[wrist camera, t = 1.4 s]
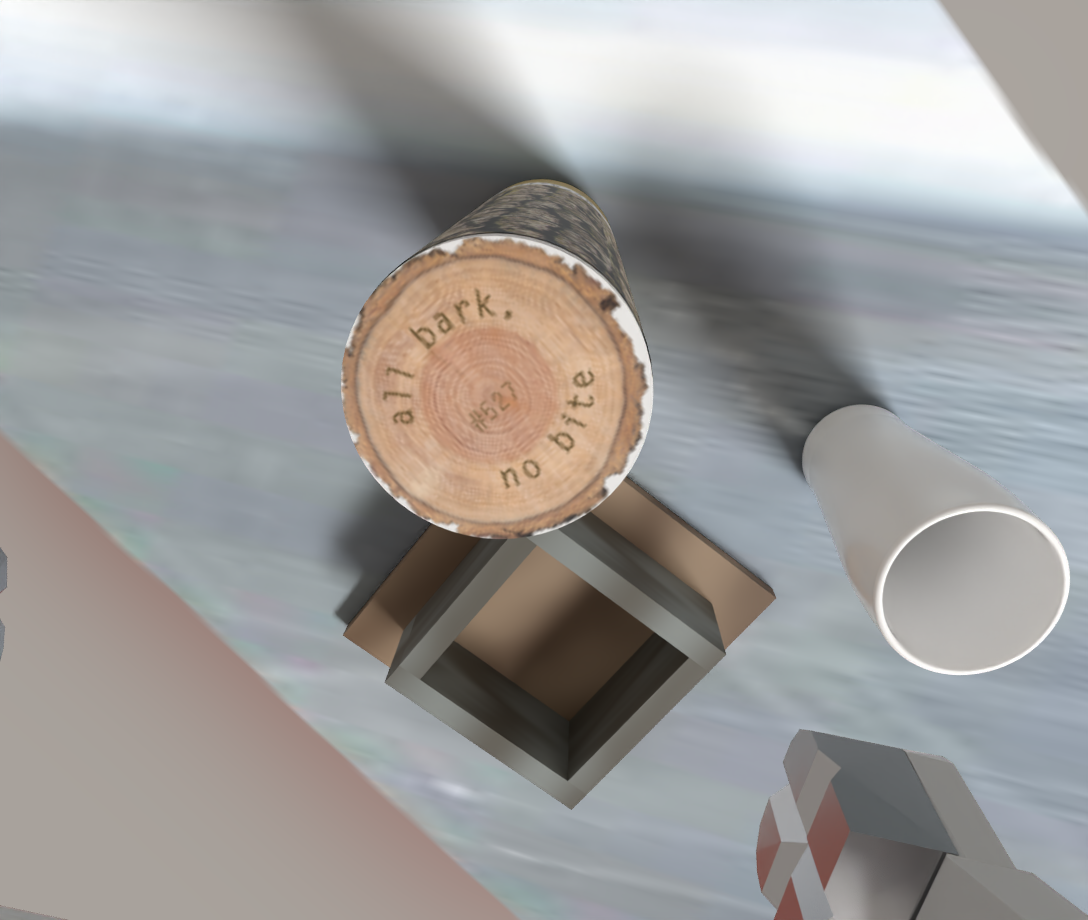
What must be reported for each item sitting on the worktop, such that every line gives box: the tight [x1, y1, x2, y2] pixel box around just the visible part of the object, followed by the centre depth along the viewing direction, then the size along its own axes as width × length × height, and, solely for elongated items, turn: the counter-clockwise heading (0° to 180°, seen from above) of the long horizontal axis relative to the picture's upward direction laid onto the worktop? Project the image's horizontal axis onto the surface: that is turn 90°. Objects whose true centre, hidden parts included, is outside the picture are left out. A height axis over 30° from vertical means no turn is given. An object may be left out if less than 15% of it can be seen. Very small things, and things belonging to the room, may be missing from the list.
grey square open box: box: [343, 477, 776, 810], centre depth 47 cm, size 16×16×6 cm
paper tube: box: [341, 179, 653, 539], centre depth 32 cm, size 7×7×25 cm
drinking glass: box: [802, 404, 1070, 675], centre depth 40 cm, size 7×7×15 cm
